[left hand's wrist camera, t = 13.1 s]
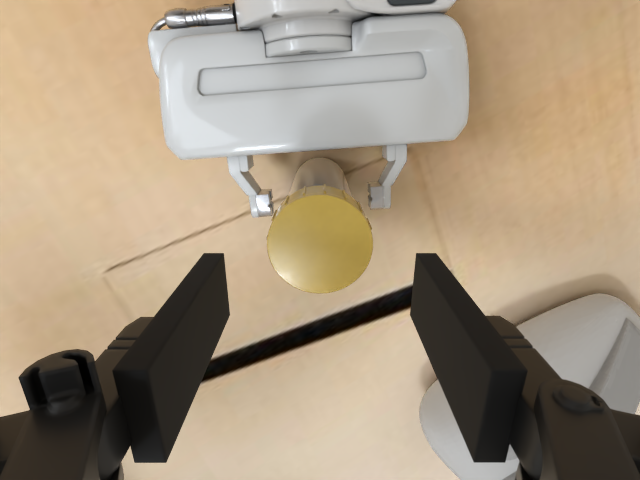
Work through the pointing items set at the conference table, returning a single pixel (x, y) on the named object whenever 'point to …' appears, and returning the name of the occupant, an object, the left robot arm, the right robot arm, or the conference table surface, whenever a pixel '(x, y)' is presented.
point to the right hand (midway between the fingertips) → (321, 211)
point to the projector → (567, 361)
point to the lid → (320, 239)
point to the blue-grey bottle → (320, 175)
